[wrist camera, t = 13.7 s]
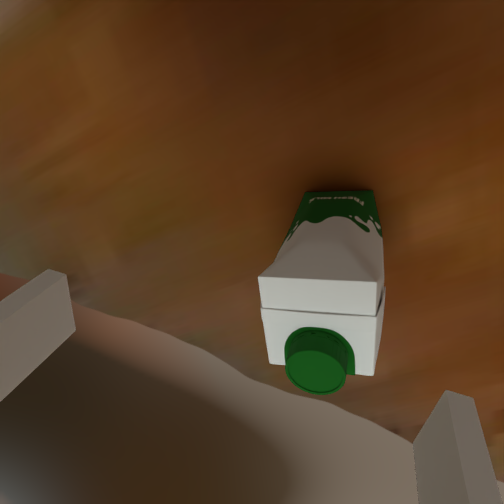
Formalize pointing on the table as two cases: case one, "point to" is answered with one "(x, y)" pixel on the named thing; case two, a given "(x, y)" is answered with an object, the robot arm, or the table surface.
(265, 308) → the milk carton
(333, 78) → the table surface
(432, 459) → the robot arm
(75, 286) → the table surface
